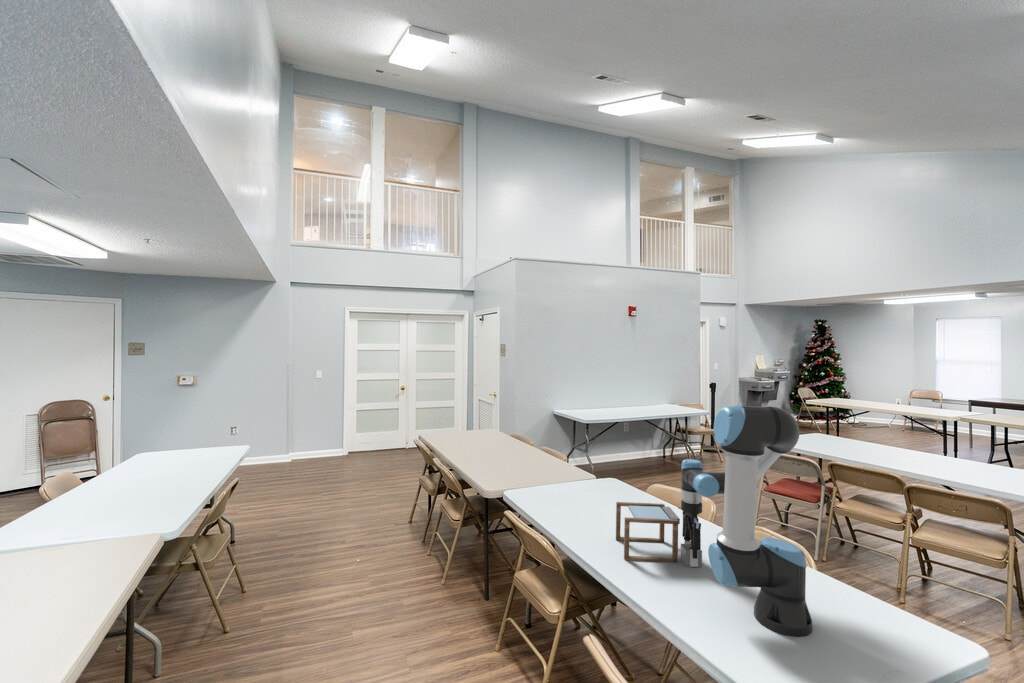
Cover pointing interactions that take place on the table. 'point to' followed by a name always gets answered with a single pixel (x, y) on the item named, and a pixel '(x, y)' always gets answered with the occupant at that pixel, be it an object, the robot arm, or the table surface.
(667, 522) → the frame
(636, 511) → the plate
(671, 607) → the table surface
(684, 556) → the gray cube
